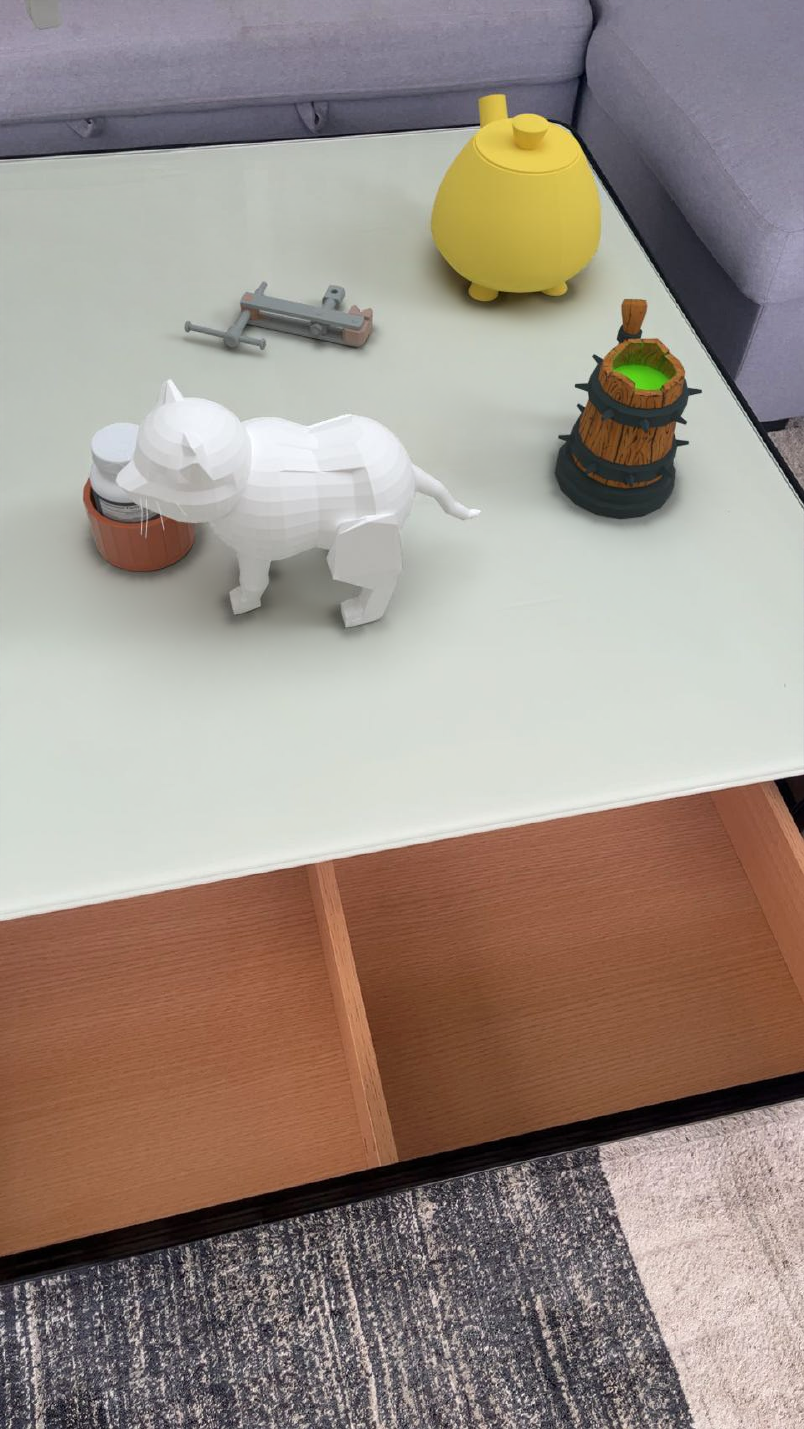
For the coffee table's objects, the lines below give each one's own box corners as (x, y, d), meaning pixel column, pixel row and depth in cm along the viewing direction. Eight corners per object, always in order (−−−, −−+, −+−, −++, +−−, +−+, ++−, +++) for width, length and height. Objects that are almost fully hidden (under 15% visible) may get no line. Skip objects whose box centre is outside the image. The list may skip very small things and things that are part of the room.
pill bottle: (121, 502, 81) (99, 408, 73) (186, 515, 80) (171, 422, 73) (94, 551, 78) (68, 459, 70) (162, 566, 77) (143, 474, 70)
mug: (685, 524, 83) (730, 404, 73) (555, 518, 82) (583, 398, 73) (663, 413, 90) (702, 292, 81) (544, 408, 90) (568, 285, 80)
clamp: (382, 289, 94) (349, 356, 89) (381, 310, 96) (349, 378, 91) (222, 256, 96) (180, 320, 91) (225, 278, 98) (184, 342, 92)
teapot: (404, 202, 107) (412, 55, 95) (553, 194, 109) (578, 49, 97) (447, 325, 96) (461, 175, 84) (611, 312, 98) (647, 164, 87)
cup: (80, 562, 78) (67, 518, 74) (114, 492, 82) (103, 447, 78) (178, 579, 77) (170, 535, 73) (207, 508, 81) (201, 463, 78)
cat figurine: (452, 503, 83) (474, 316, 69) (495, 603, 77) (528, 421, 64) (129, 557, 78) (84, 368, 64) (149, 668, 73) (104, 487, 59)
